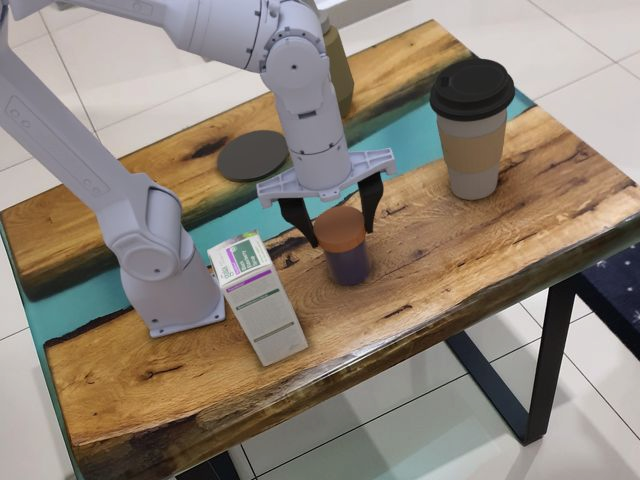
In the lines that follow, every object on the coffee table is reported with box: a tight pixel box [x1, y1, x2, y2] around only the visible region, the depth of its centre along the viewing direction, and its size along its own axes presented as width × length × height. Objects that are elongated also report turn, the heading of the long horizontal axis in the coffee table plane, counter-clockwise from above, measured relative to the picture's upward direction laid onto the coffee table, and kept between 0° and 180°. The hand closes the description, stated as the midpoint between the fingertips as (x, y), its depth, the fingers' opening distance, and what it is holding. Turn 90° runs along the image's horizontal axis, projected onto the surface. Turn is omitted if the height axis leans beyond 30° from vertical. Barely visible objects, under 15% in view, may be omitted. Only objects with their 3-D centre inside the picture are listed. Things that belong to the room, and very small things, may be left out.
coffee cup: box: [428, 58, 516, 201], centre depth 77 cm, size 9×9×15 cm
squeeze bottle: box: [300, 0, 355, 119], centre depth 91 cm, size 8×8×18 cm
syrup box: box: [206, 228, 309, 367], centre depth 69 cm, size 6×6×14 cm
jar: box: [321, 237, 373, 287], centre depth 76 cm, size 5×5×7 cm
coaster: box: [216, 129, 290, 183], centre depth 96 cm, size 11×11×1 cm
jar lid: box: [313, 205, 367, 253], centre depth 73 cm, size 6×6×2 cm
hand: (341, 234), depth 74 cm, fingers closed on jar lid, 6 cm apart
